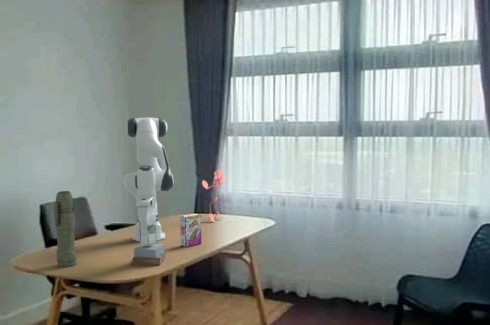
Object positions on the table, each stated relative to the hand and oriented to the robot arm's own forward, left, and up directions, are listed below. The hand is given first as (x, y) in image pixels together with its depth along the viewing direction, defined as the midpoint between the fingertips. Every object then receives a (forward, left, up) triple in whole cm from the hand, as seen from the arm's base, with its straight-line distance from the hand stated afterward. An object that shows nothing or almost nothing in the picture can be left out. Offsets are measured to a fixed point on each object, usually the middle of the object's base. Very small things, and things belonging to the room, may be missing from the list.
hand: (147, 228), depth 264 cm
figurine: (-103, +23, -16) cm, 107 cm away
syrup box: (0, 0, -8) cm, 8 cm away
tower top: (+1, +1, -13) cm, 13 cm away
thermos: (+6, -38, -16) cm, 42 cm away
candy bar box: (-35, +15, -16) cm, 41 cm away
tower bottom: (+1, +1, -17) cm, 17 cm away
